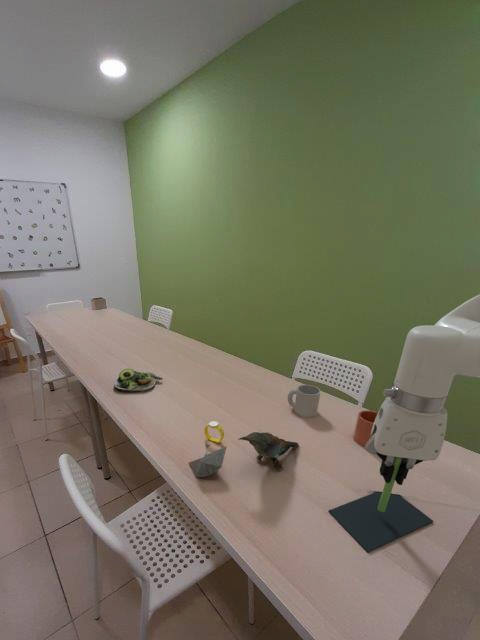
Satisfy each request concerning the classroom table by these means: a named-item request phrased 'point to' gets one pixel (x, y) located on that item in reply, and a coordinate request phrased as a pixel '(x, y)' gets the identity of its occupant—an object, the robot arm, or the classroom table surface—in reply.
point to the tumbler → (364, 426)
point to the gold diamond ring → (214, 425)
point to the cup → (305, 400)
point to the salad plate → (135, 381)
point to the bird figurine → (269, 446)
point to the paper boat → (208, 463)
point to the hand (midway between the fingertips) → (391, 478)
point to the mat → (379, 520)
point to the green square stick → (389, 486)
